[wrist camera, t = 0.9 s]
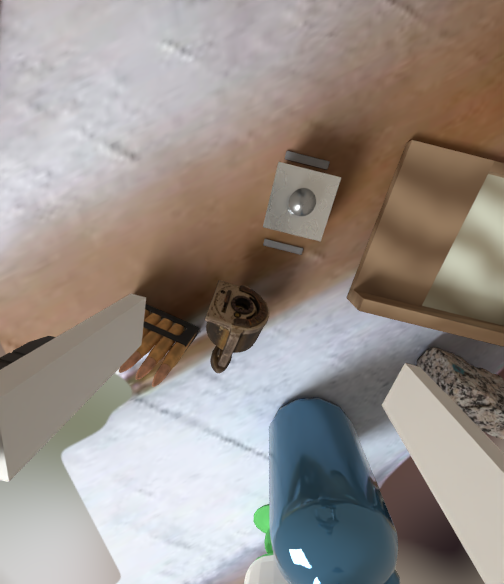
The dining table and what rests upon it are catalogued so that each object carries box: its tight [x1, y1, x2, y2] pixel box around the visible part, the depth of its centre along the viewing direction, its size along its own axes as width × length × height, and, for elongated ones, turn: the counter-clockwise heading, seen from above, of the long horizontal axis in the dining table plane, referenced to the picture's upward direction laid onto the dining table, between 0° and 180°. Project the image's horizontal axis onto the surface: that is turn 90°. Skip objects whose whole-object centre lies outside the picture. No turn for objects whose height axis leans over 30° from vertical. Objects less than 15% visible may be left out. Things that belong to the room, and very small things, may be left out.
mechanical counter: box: [205, 280, 269, 373], centre depth 28 cm, size 7×13×10 cm, turn 176°
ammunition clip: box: [119, 304, 199, 387], centre depth 28 cm, size 11×2×12 cm, turn 65°
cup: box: [244, 505, 289, 584], centre depth 38 cm, size 14×14×16 cm
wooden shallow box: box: [347, 140, 504, 347], centre depth 26 cm, size 18×22×5 cm
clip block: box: [263, 162, 341, 241], centre depth 25 cm, size 6×6×8 cm
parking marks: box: [263, 151, 330, 255], centre depth 28 cm, size 11×5×1 cm, turn 167°
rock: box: [417, 348, 504, 440], centre depth 28 cm, size 13×9×4 cm
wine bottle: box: [269, 398, 400, 584], centre depth 24 cm, size 14×13×30 cm
